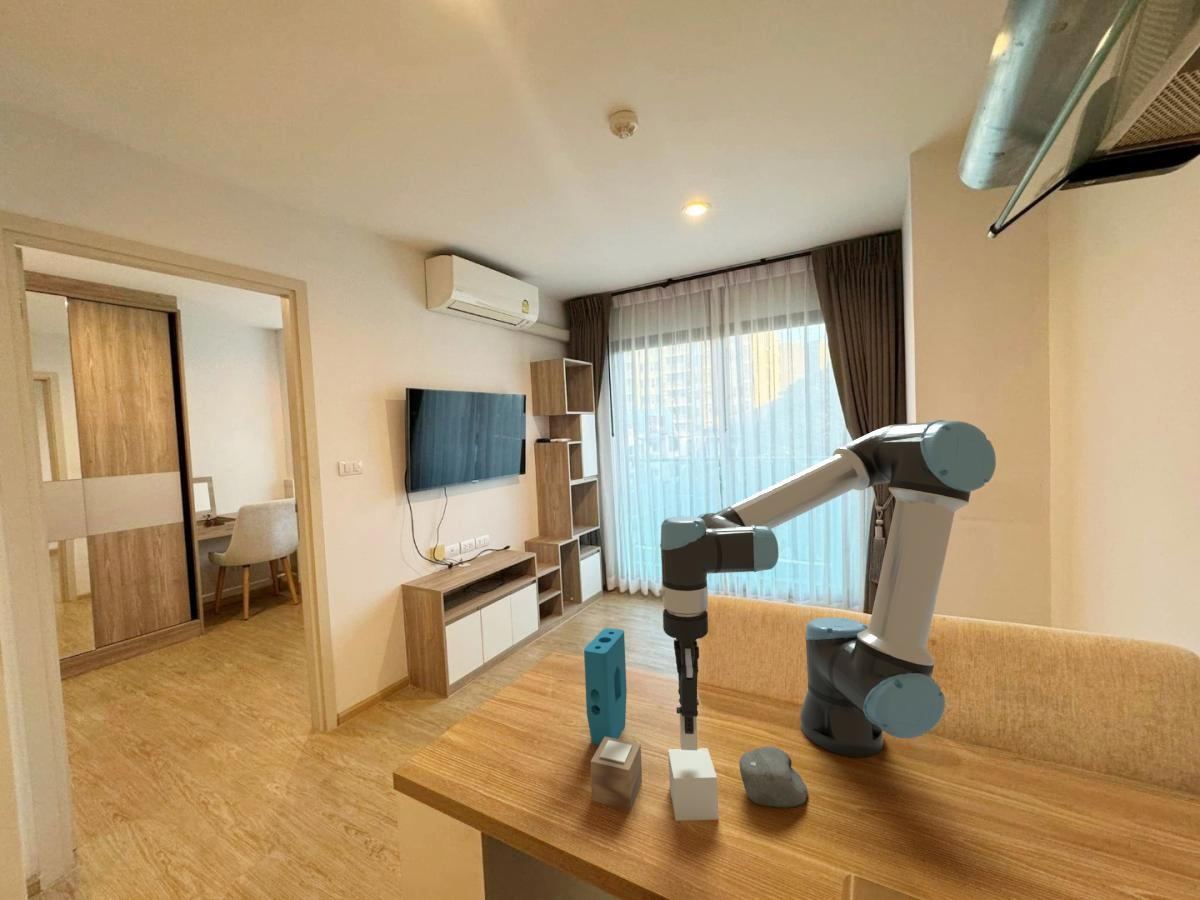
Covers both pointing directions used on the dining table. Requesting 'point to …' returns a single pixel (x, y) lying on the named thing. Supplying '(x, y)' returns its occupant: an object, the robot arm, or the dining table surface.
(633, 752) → the marked block
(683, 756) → the plain block
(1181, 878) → the dining table surface
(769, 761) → the stone
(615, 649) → the block
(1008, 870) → the dining table surface
